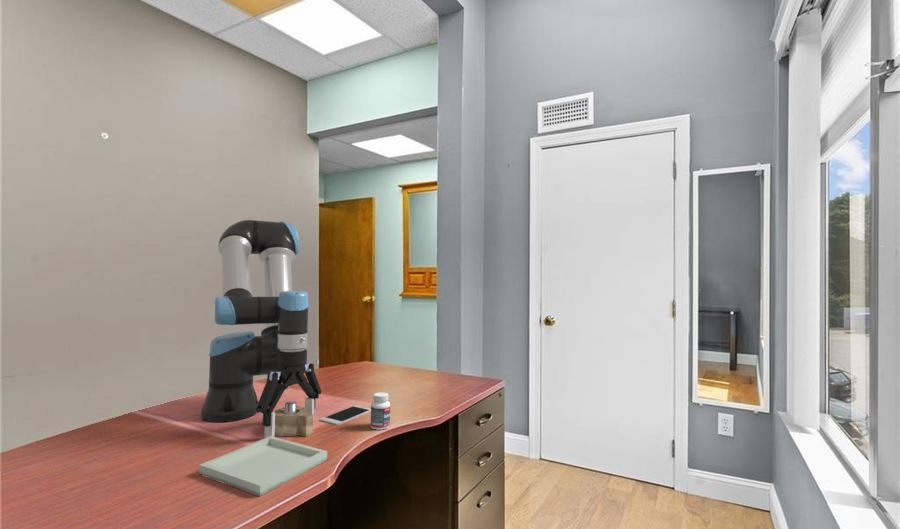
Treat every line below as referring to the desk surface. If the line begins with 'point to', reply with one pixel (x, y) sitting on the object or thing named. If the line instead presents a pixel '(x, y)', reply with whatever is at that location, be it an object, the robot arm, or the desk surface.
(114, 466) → the desk surface
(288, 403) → the grey metal cylinder
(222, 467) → the tray
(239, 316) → the robot arm
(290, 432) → the tan notched block
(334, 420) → the smartphone
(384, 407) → the pill bottle
